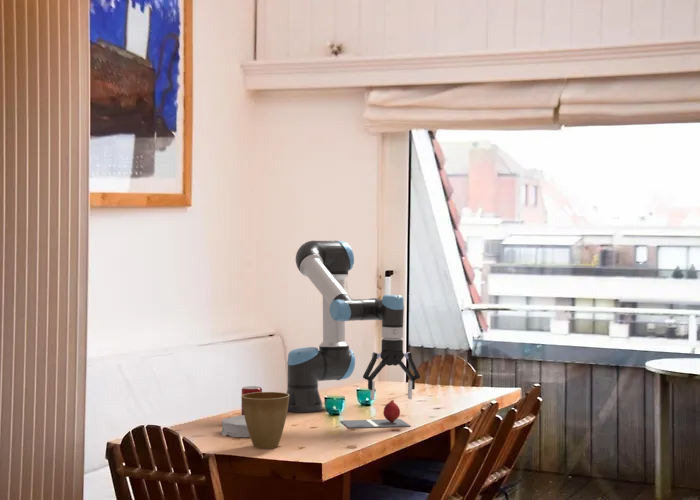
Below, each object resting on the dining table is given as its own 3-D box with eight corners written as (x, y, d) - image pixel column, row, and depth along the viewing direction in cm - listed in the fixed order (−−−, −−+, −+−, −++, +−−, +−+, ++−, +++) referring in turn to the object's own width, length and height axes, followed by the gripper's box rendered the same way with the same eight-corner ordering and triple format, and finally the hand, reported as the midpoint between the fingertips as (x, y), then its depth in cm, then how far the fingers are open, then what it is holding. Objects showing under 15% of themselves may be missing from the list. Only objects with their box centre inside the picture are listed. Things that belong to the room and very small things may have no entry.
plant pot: (268, 440, 320) (269, 390, 320) (298, 447, 309) (299, 395, 309) (231, 446, 310) (231, 394, 310) (260, 453, 299) (261, 399, 299)
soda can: (237, 422, 354) (238, 388, 354) (246, 419, 360) (247, 385, 361) (256, 423, 351) (256, 389, 351) (265, 420, 358) (265, 386, 358)
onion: (387, 424, 349) (387, 401, 349) (380, 421, 355) (380, 399, 355) (402, 423, 351) (402, 400, 351) (395, 420, 357) (395, 398, 357)
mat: (348, 428, 343) (348, 427, 343) (340, 421, 356) (340, 420, 356) (410, 426, 347) (410, 425, 347) (400, 420, 361) (400, 418, 361)
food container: (213, 430, 340) (213, 410, 339) (270, 426, 346) (269, 406, 346) (226, 442, 321) (226, 420, 321) (286, 437, 328) (286, 416, 327)
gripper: (360, 340, 347) (358, 401, 347) (429, 339, 352) (428, 400, 352) (355, 337, 354) (354, 397, 354) (423, 337, 359) (422, 396, 360)
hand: (391, 399), depth 353 cm, fingers open, 13 cm apart
